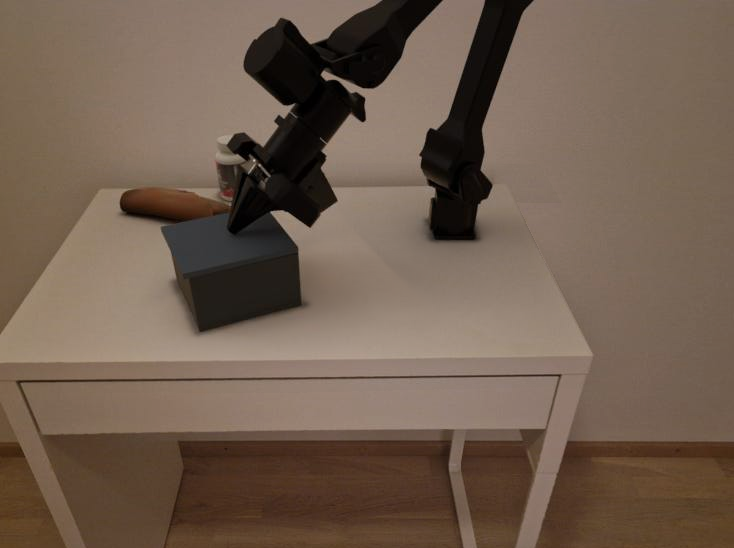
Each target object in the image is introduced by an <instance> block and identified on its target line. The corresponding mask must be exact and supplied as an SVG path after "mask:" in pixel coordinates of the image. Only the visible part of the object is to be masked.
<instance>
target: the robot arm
mask: <svg viewBox="0 0 734 548" xmlns="http://www.w3.org/2000/svg"><path fill="white" fill-rule="evenodd" d="M443 1H444V0H380V1H379V2H377V3H376V4H374V5H373V6H371V7H368V8H366V9H363V10H362V11H360V12H357V13H355V14H353V15H351V17H349V18H348V19H347V20H345V21H344V22H343V23H341V24H340V25H338V26H337V27H336V28H335V29H334V30H332V32H331V33H330V34H329V36H328V37H327V38H323V39H320V40H318V41H315V42H313V43H310V42H309V41H308V40H307V39H306V38H305V37H304V36H303V34H302V33H301V32H300V29H299V28H298V27H297V26H296V24H295V23H294V22H293V21H292V20H290V19H287V18H285V17H279V18H278V20H277V21H276V22H275V23H276V24H275V25H274V26H271V27H269V28H267V29H266V30H264V31H263V32H262V33H261V34H259V36H258V37H257V38H254V39H253V40H252V42H251V43H250V44H249V47H248V48H247V50H246V53H245V55H244V58H243V66H242V67H243V70H244V72H245V74H247V75H248V76H249V77H250V78H251V79H252V80H254V81H255V82H256V83H257V84H258V85H259V86H260V87H262V88H263V89H264V90H265V91H266V92H267V93H268V94H269V95H271V97H273V98H274V99H275V100H276V101H277V102H278V103H279V104H281V105H282V106H286V107H290V106H292V107H291V108H290V110H289V111H288V113H287V114H286V115H285V117H283V116H282V115H280V114H277V116H276V117H275V119H274V120H273V122H274V123H275V125H277V127H276V129H275V130H274V132H273V133H272V134H271V135H270V137H269V138H268V139H267V141H266V142H265V143H264V145H262V144H260V143H259V142H257V141H256V140H255V139H254V138H252V137H251V136H250V135H249V134H248V133H246V132H244V131H243V132H238V133H234V134H232V135H233V137H232V138H231V140H230V141H229V142H228V144H227V145H226V146H227V147H228V148H229V149H230V151H231V152H232V153H233V154H235V155H236V154H238V155H239V156H240V157H242V158H243V159H244V160H246V161H247V162H246V164H245V165H244V167H242V166H240V165H239V164H237V166H236V168H237V175H236V181H235V187H234V193H233V199H232V201H231V205H230V206H231V209H230V214H229V219H228V223H227V230H228V231H229V232H230V233H232V234H234V235H235V234H237V233H238V232H240V231H241V230H243V229H244V228H245V227H247V226H248V225H250V224H251V223H253V222H254V221H256V220H257V219H259V218H260V217H262V216H263V215H265V214H267V213H269V212H281V211H283V212H285V213H288V214H289V215H290V216H292V217H294V218H295V219H296V220H298V221H299V222H300V223H302V224H303V225H305V226H306V227H307V228H309V229H311V228H312V227H313V226H314V224H316V222H317V221H318V220H319V218H320V217H321V214H322V213H324V212H325V211H326V210H328V209H329V208H330V207H332V206H333V205H335V204H337V202H338V201H339V200H338V197H337V196H336V194H335V192H334V190H333V188H332V185H331V184H330V182H329V180H328V178H327V177H326V175H325V174H326V173H325V172H323V170H322V167H323V166H324V164H325V163H326V161H327V157H328V155H326V153H324V152H323V150H324V149H325V148H326V147H327V145H328V144H329V143H330V141H331V140H332V139H333V137H334V136H335V135H336V134H337V132H338V131H339V130H340V128H341V127H342V125H343V124H344V123H345V122H346V121H347V119H348V118H349V117H350V115H351V116H352V117H354V118H355V119H356V120H358V121H359V122H360V123H365V122H366V121H367V114H366V113H367V112H366V107H365V106H366V105H365V104H366V97H365V96H364V95H362V94H360V93H359V92H358V91H354V92H350V90H349V89H348V88H347V87H345V86H344V84H342V82H340V80H337V79H328V80H327V79H325V78H324V76H322V74H323V72H325V73H327V74H330V75H331V76H334V77H336V78H339V79H341V80H343V81H345V82H348V83H350V84H352V85H354V86H357V87H359V88H361V89H365V90H369V89H370V90H374V89H376V88H379V86H381V85H382V84H384V82H385V81H386V80H387V78H388V77H389V76H390V74H391V73H392V71H393V70H394V69H395V67H396V66H397V64H398V63H399V62H400V61H401V59H402V57H403V54H404V51H405V48H406V47H405V46H406V43H407V41H408V39H409V38H410V37H411V35H412V34H413V32H414V31H415V30H417V28H418V27H419V26H420V25H421V24H422V23H423V22H424V21H425V20H426V19H427V18H428V17H429V16H430V14H432V13H433V11H434V10H436V9H437V7H438V6H439V5H440V4H442V2H443ZM534 1H535V0H484V2H483V6H482V10H481V14H480V17H479V19H478V22H477V26H476V28H475V32H474V34H473V38H472V41H471V45H470V48H469V50H468V54H467V56H466V59H465V63H464V66H463V69H462V72H461V76H460V78H459V81H458V85H457V88H456V91H455V93H454V98H453V101H452V103H451V107H450V109H449V113H448V115H447V117H446V119H445V121H444V122H442V124H440V126H438V127H437V129H435V128H433V127H430V128H428V129H427V132H426V133H425V141H424V145H423V147H422V149H421V151H420V152H419V154H418V156H419V157H420V158H421V159H420V170H421V171H422V174H423V176H424V177H425V178H426V179H425V180H426V183H427V186H429V187H432V188H433V189H434V197H431V198H430V200H429V201H430V202H429V209H428V221H427V222H428V227H429V230H431V233H432V237H433V239H436V240H437V239H439V240H442V239H446V240H449V239H450V240H474V239H477V233H476V229H475V228H476V221H477V216H478V209H479V205H481V203H482V202H483V201H485V200H487V199H488V198H489V196H490V194H491V192H492V189H493V186H494V184H493V183H492V182H491V181H490V179H489V178H488V176H486V175H485V173H484V172H483V170H482V166H483V163H484V158H485V154H486V153H485V152H486V150H485V143H484V135H483V134H484V133H483V127H484V124H485V121H486V118H487V116H488V113H489V111H490V107H491V105H492V101H493V99H494V96H495V93H496V90H497V87H498V84H499V81H500V78H501V76H502V72H503V70H504V67H505V64H506V61H507V59H508V56H509V53H510V51H511V47H512V44H513V41H514V39H515V36H516V34H517V30H518V28H519V24H520V21H521V18H522V16H523V14H524V12H525V10H526V9H527V8H528V7H529V6H530V5H531V4H532V3H533V2H534Z"/></svg>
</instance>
